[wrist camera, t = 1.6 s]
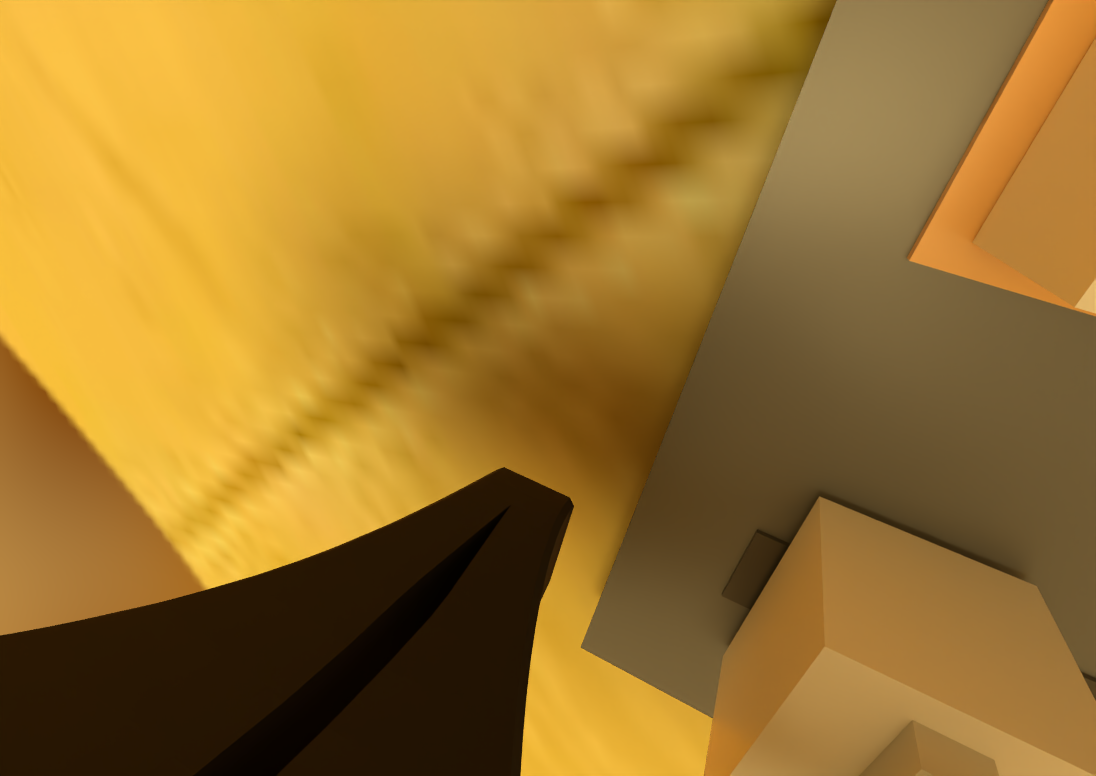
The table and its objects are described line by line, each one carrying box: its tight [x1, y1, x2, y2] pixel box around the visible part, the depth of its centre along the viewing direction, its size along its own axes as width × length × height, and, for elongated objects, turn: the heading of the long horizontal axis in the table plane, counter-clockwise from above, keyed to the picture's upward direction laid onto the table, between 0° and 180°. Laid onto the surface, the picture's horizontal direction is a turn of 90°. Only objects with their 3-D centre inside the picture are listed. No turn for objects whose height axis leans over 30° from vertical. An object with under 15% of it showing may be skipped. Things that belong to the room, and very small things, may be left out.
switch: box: [704, 496, 1096, 776], centre depth 8 cm, size 3×4×4 cm
